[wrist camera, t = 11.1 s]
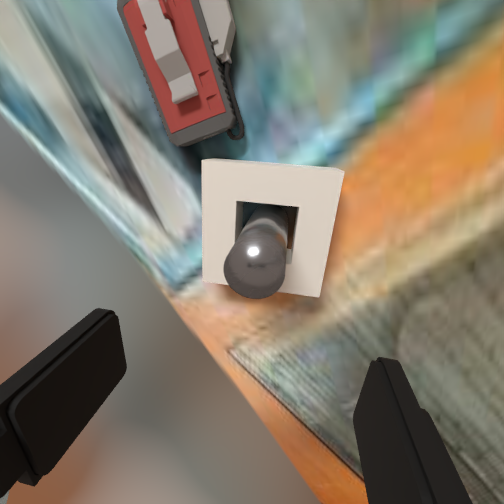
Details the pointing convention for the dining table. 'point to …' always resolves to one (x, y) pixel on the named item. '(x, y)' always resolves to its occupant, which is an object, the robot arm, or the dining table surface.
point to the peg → (259, 254)
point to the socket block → (270, 192)
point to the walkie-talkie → (186, 64)
